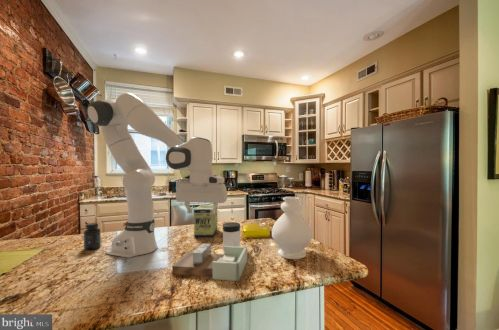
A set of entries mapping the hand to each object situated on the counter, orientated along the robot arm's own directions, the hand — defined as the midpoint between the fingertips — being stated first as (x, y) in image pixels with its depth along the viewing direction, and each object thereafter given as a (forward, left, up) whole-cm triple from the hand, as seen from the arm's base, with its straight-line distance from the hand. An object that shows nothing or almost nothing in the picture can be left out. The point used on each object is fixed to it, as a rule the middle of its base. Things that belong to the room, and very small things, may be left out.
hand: (201, 213), depth 89 cm
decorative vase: (+35, +19, -21) cm, 45 cm away
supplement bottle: (-62, +13, -21) cm, 67 cm away
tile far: (+10, +4, -21) cm, 23 cm away
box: (+12, 0, -21) cm, 24 cm away
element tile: (+15, +46, -22) cm, 53 cm away
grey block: (0, 0, -18) cm, 18 cm away
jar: (+7, +20, -21) cm, 30 cm away
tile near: (+9, -4, -19) cm, 22 cm away
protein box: (-14, +43, -22) cm, 50 cm away
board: (-1, 0, -21) cm, 21 cm away
